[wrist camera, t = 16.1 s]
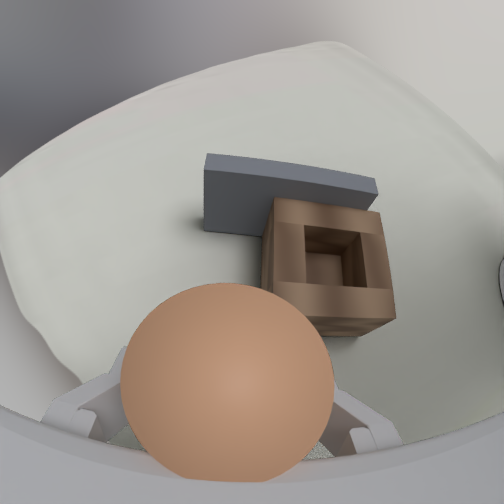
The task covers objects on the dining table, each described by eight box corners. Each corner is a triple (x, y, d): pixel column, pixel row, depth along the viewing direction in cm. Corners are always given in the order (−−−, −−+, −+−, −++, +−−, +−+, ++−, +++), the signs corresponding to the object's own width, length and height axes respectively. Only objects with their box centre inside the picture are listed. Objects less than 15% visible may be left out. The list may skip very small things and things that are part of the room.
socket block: (352, 245, 35) (379, 212, 29) (361, 336, 30) (396, 318, 24) (262, 234, 34) (274, 196, 28) (258, 333, 29) (272, 313, 23)
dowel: (258, 358, 16) (331, 290, 6) (256, 429, 14) (331, 482, 4) (185, 352, 16) (135, 273, 6) (179, 424, 14) (115, 471, 4)
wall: (339, 230, 36) (374, 178, 27) (340, 245, 35) (378, 194, 26) (206, 215, 35) (207, 153, 26) (203, 230, 34) (203, 169, 25)
